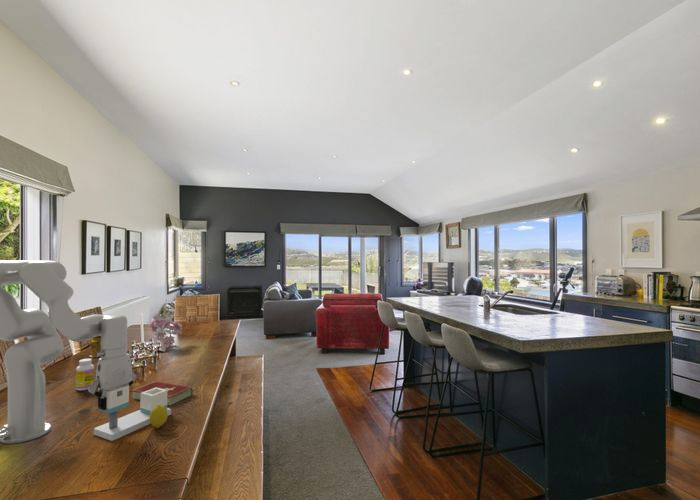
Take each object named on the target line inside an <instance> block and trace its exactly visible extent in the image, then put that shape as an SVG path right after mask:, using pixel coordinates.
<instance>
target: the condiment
mask: <svg viewBox="0 0 700 500" xmlns="http://www.w3.org/2000/svg"><path fill="white" fill-rule="evenodd" d="M90 343H91V347H90V349H91V350H90V352H91V353H90V354H91V355H89V357H91V358H99V357H98V356H97V353H99V352H100V349H101V335H100V336H97V337H94V338H91V342H90Z"/></svg>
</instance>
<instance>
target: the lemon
mask: <svg viewBox="0 0 700 500" xmlns="http://www.w3.org/2000/svg"><path fill="white" fill-rule="evenodd" d="M167 419H168V416H167V410H166V408H165V407H164V406H161V405H158V406H156V407H154V408H153V409H152V411H151V413H150V423H151V424H150V425H152V427H155V428H157V429H160V427H162V426H163V425H164V424H165V423H166V422H167Z"/></svg>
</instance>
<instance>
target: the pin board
mask: <svg viewBox="0 0 700 500" xmlns="http://www.w3.org/2000/svg"><path fill="white" fill-rule="evenodd" d="M166 410H167V417H168V416H171V415H172V409H171V408H169V407H167V409H166ZM108 414H109V413H108ZM118 414H119V410H117V411H115V412H112V413H110V414H109V415H108V416H109V418H108V421H109V422H105V423H104V424H101V425H99V426H96V427H94V428H93V435H94V436H97V437H100V438H101V439H105V440H107V441H111V442H113V441H115V440H117V439H120V438H122V437H124V436H126V435H129V434H131V433H133V432H135V431H137V430H140V429H142V428H144V427H146V426H148V425H152V424H151V423H150V415H149V414H146V413H143V412H140V409H139V410H136V411H133V412H131V413H128V414H126V415H124V416H121V417H119V416H118Z"/></svg>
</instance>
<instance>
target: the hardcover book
mask: <svg viewBox="0 0 700 500" xmlns="http://www.w3.org/2000/svg"><path fill="white" fill-rule="evenodd" d="M156 387H157V388H161V389H165V390H167V406H172V405H174V404H176V403H178V402H180V401H182V400H184V399H186V398H188V397H190V396H193V387H192V386H189V385H188V386H186V385H181V384H176V383H175V384H174V383H167V382H160V381H152V382H149V383H147V384H144V385H142V386H140V387H136V388H134V389H132V390H131V392H133V393H132V399H135V400H139V401H140V394H141V393H142V392H145V391H147V390H150V389H153V388H156Z"/></svg>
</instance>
